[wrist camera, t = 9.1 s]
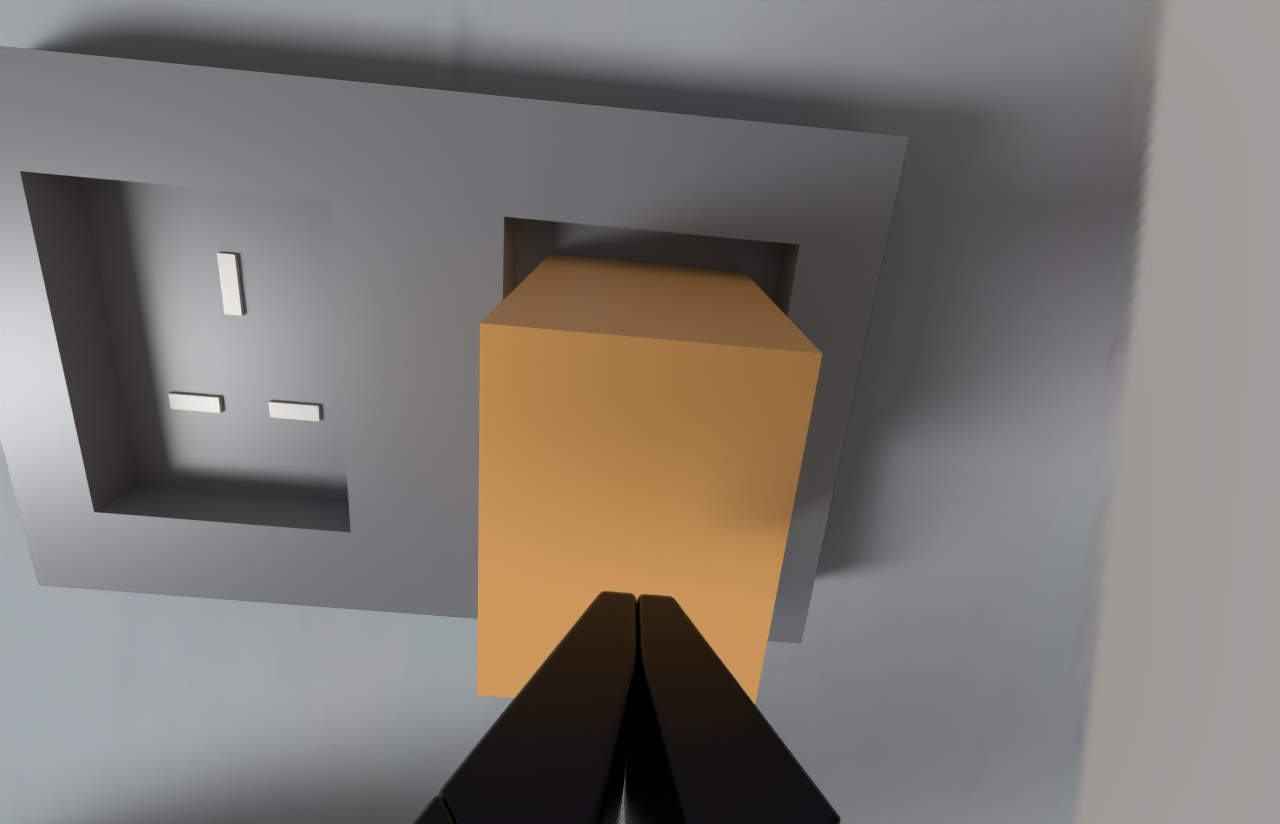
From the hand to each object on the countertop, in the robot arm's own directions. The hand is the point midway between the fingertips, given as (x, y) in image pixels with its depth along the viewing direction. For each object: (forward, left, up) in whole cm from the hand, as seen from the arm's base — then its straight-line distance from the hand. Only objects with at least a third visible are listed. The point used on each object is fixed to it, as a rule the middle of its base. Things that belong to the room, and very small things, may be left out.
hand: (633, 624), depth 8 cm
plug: (0, -1, -9) cm, 9 cm away
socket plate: (-5, 0, -10) cm, 11 cm away
